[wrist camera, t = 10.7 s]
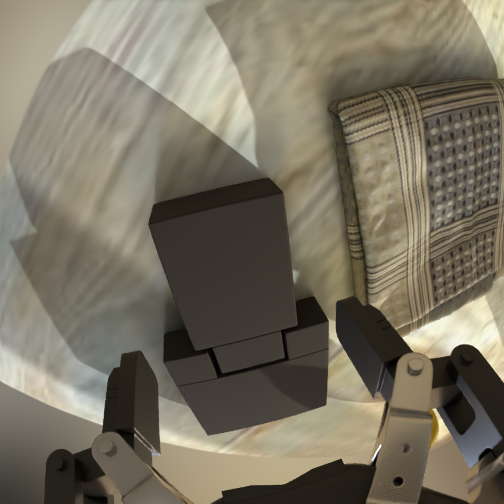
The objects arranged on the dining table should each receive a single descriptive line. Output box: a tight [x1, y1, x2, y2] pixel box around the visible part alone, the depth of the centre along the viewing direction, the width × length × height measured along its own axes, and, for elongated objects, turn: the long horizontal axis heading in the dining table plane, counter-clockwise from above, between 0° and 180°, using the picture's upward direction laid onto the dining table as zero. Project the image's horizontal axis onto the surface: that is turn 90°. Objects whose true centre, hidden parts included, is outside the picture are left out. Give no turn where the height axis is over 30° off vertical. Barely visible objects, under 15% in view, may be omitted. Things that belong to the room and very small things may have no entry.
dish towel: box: [328, 78, 504, 337], centre depth 17 cm, size 19×18×3 cm
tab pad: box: [148, 178, 297, 373], centre depth 17 cm, size 6×10×2 cm, turn 8°
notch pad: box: [164, 297, 329, 435], centre depth 21 cm, size 10×10×2 cm
